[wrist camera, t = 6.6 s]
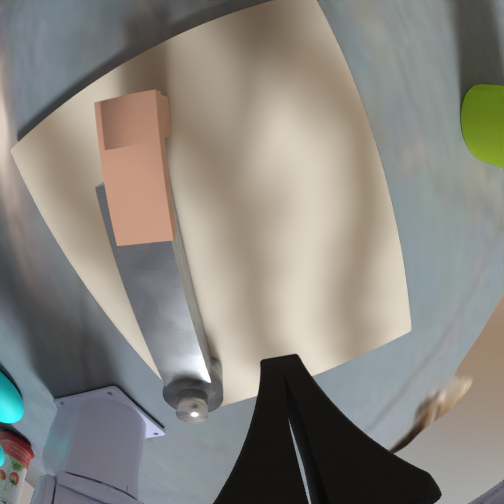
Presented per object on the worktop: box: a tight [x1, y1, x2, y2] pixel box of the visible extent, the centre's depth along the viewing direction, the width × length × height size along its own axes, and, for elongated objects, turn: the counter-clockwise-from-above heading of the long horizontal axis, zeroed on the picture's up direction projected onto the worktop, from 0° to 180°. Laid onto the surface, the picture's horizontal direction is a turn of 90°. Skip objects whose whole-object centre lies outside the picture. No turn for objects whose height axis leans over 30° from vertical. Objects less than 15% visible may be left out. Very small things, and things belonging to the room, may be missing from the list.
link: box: [95, 176, 223, 423], centre depth 16 cm, size 16×4×4 cm, turn 7°
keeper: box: [94, 89, 177, 246], centre depth 13 cm, size 6×2×4 cm, turn 3°
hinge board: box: [10, 0, 411, 407], centre depth 17 cm, size 19×24×1 cm
